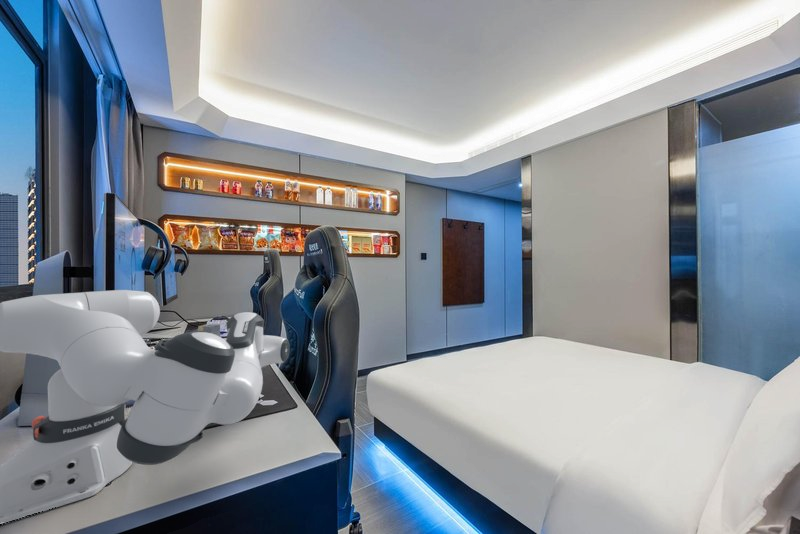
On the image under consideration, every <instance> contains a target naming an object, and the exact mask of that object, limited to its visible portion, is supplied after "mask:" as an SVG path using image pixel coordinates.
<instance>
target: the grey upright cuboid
mask: <svg viewBox="0 0 800 534" xmlns="http://www.w3.org/2000/svg"><path fill="white" fill-rule="evenodd" d="M197 327H198V328H197V329H198V330H197V332H207V333H212V334H215V335H217V336H219V337H221V324H218V323H217V324H215V323H207V324H203V325H199V326H197Z"/></svg>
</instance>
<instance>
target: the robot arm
mask: <svg viewBox="0 0 800 534" xmlns="http://www.w3.org/2000/svg"><path fill="white" fill-rule="evenodd" d="M160 308H161V307H160V304H159V302H158V301H157V299H156V297H155V296H153V294H151V293H150V292H149V291H143V290H132V289H131V290H130V289H115V290H114V289H113V290H100V291H99V290H98V291H82V292H67V293H51V294H50V293H49V294H38V295H31V296H25V297H20V298H16V299H10V300H6V301H2V302H0V352H1V353H8V354H10V353H12V354H28V355H36V356H40V357H45V358H49V359H51V360H52V359H53V360H55V361H57V363H58V365H59V367H60V369H58V370H57V371H56V372H55V373H53V375H52V376H51V377H50V379H49V380H48V383H47V406H48V410H47V411H48V415H47V416H45V415H39V416H36V417H34V419H32V420H31V421H32V423H31V427H32V429H33V430H32V435H33V436H32V437H33V440H32V441H31V442H29V443H28V444H27V445H25V446H24V447H23V448H22V449H21V450H19V451H18V452H17V453H15V454H14V455H12V456H11V457H10V458H9V459H7V460H6V461H5V462H4V463H3V464H1V465H0V523H1V522H7V521H11V520H15V519H18V518H21V517H23V516H27V515H30V514H34V513H37V514H39V513H38V512H40V513H43V512H46V511H49V509H50V510H52V508H53V509H56V508H58V507H62V506H66V505H68V504H72V503H74V502H78V501H81V500H85V499H88V498H90V497H92V496H95V495H97V494H98V493H99V492H100V491H101V490H103V489H104V488H105V486H106V485H108V484H109V483H110V482H112V481H113V480H115V479H117V478H119V477H120V476H121V475H123V473H125V472H126V471H127V470H128V469H129V468H130V467H131V466H132V465H133V463H135V464H139V465H145V466H146V465H147V466H150V465H151V466H153V465H155V466H156V465H159V464H163V463H165V462H168V461H170V460H172V459H174V458H176V457H178V456H179V455H180V454H182V453H183V452H184V451H186V450H187V448H188V447H189V446H190V445H193V444H195V443H198V442H199V441H200V440H201V439H203V437H204V435H203V431H204V429H205V428H206V427H207V425H209V424H211V423H212V424H213V423H214V424H218V425H223V426H224V425H226V426H227V425H232V424H236V423H238V422H241V421H242V420H244V419H245V418H246V417H247V416H248V415H249V414H250V413H251V412H252V410H254V408H255V407H256V405H257V403H258V401H259V399H260V396H261V393H262V391H263V385H264V380H263V379H264V378H263V370H264V369H265V368H267V367H268V366H269V365H273V364H274V365H276V364H283V363H285V362H286V361H287V360H288V358H289V355H290V349H291V348H290V342H289V340H288V339H287V338H285V337H282V336H278V335H267V334H264V327H265V326H264V325H265V320H264V318H263V317H262V316H261V315H259V314H258V313H256V312H250V311H249V312H248V311H245V312H238V313H235V314H233V315H232V316H231V317H230V318H229V319H228V320H227V322H226V331H227V332H226V335H227V336H226V340H225V339H224V338H222V337H221V336H220V337H219V336H217V335H215V334H212V333H207V332H203V331H188V332H184V333H181V334H177V335H175V336H174V337H171V338H169V339H161V340H159V341H158V342H157V343H156V344H155V346H154V347H155V349H152V348H151V347H150V346H148V345H147V343H146V342H145V339H144V338H143V337H144V336H145V335H146V334H147V333H148V332H149V331H151V330H152V329H154V328H155V326H156V324H157V322H158V321H159V318H160V314H161V309H160ZM131 399H132V400H134V401H135V403H134V405H133V406H132V407H131V410H130V411H129V414H128V417H126V415H127V413H126V409H127V408H125V402H127V401H130V400H131ZM55 507H56V508H55ZM42 511H43V512H42ZM34 515H35V514H34ZM27 517H28V516H27ZM21 519H22V518H21ZM18 520H19V519H18ZM15 521H16V520H15Z"/></svg>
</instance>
